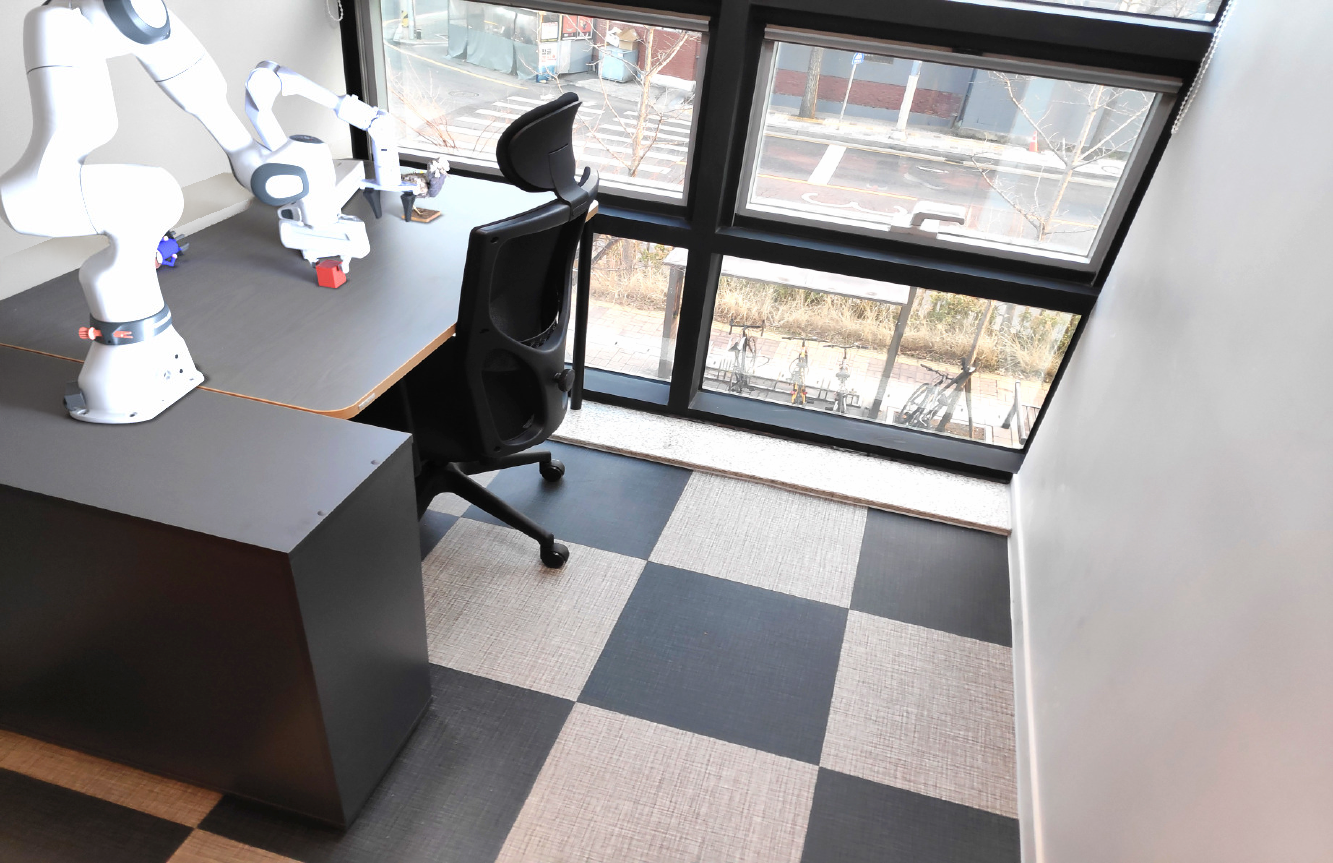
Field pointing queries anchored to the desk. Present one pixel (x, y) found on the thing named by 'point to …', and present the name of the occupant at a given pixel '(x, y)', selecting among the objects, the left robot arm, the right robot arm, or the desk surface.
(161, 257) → the character figurine
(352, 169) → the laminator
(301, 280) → the desk surface
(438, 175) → the stuffed bird
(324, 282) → the brick
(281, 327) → the desk surface
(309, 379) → the desk surface
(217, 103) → the left robot arm
